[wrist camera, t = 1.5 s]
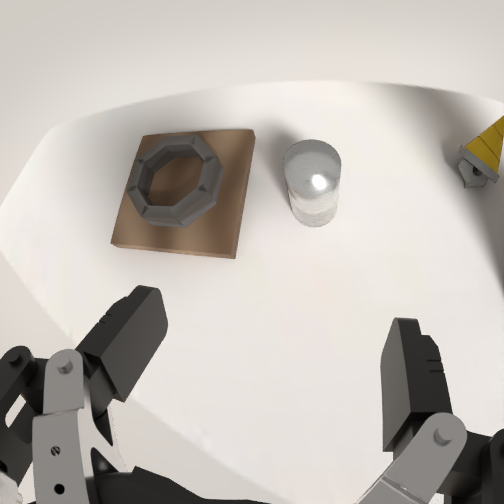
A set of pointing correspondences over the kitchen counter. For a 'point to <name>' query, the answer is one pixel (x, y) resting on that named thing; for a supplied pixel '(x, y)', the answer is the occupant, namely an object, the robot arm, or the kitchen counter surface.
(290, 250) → the kitchen counter surface
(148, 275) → the kitchen counter surface
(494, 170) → the drill bit
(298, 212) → the steel peg
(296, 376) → the kitchen counter surface
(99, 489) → the robot arm
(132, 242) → the socket board
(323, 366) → the kitchen counter surface
